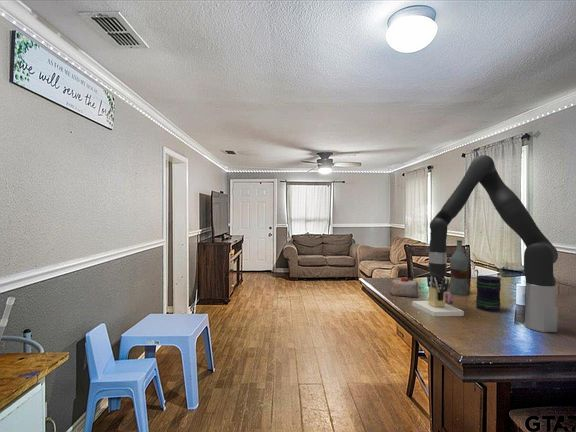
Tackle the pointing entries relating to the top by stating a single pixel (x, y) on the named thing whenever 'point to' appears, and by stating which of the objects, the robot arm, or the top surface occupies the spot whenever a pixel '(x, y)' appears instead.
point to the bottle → (459, 271)
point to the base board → (437, 309)
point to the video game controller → (448, 297)
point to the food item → (404, 288)
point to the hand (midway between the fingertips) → (436, 298)
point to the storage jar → (488, 293)
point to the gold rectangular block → (435, 297)
